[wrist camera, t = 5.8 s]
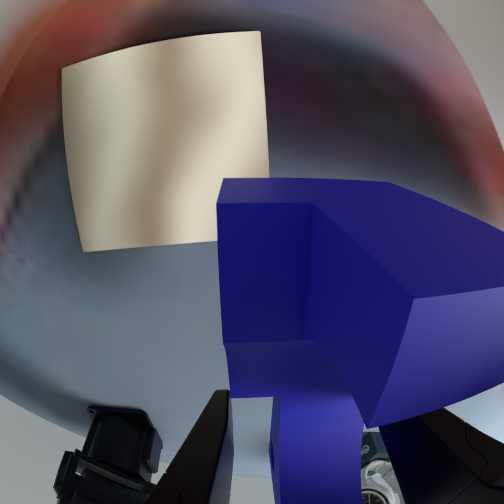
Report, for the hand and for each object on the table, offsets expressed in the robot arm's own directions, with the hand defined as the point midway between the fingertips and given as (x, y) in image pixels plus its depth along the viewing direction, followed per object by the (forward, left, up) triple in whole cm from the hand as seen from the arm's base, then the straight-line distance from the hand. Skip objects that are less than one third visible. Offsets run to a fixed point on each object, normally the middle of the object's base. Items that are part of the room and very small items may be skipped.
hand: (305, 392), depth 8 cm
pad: (-6, +7, -11) cm, 15 cm away
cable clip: (0, 0, -2) cm, 2 cm away
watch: (+11, -26, -11) cm, 30 cm away
